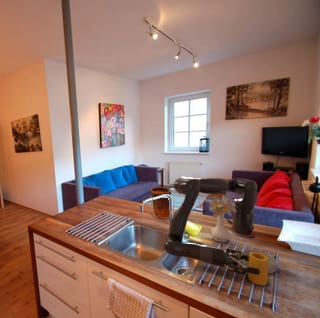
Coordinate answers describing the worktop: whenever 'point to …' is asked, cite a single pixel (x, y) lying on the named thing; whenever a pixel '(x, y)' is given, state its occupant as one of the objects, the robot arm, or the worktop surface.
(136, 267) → the worktop surface
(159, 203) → the vessel
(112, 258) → the worktop surface
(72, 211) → the worktop surface
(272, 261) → the bowl
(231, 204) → the flower vase
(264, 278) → the yellow hollow cylinder
